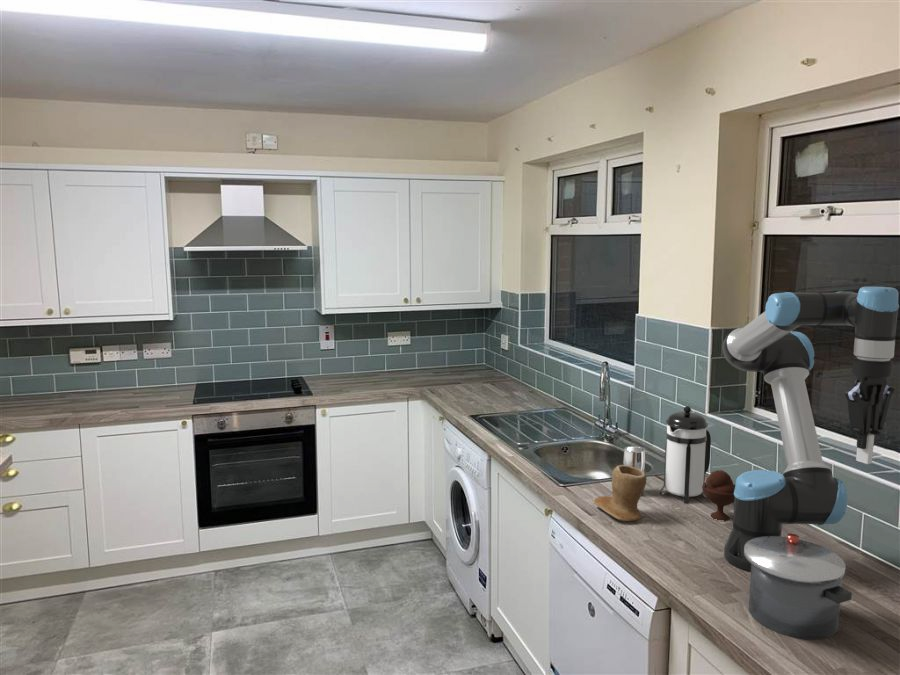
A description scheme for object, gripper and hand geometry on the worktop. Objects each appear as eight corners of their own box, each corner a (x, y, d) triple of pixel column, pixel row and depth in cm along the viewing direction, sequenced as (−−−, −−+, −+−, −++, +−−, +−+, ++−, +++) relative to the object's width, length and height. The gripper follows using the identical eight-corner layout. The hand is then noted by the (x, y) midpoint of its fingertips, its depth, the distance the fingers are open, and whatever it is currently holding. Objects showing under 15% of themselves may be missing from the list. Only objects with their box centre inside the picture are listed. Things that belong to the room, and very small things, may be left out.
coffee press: (713, 506, 216) (718, 413, 211) (660, 501, 220) (663, 410, 215) (708, 487, 232) (712, 400, 228) (659, 482, 236) (662, 398, 232)
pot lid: (788, 535, 164) (789, 524, 164) (866, 573, 146) (868, 560, 146) (724, 549, 157) (725, 537, 156) (798, 590, 138) (799, 577, 138)
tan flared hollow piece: (652, 520, 205) (654, 472, 203) (618, 526, 201) (620, 477, 199) (624, 502, 219) (625, 457, 217) (591, 507, 216) (592, 461, 213)
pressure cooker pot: (783, 581, 169) (787, 531, 167) (876, 633, 147) (882, 576, 145) (721, 598, 161) (724, 546, 159) (809, 655, 139) (814, 595, 137)
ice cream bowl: (743, 525, 201) (746, 476, 199) (704, 523, 203) (706, 475, 201) (734, 511, 212) (737, 464, 209) (697, 509, 213) (699, 463, 211)
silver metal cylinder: (630, 487, 232) (632, 444, 230) (648, 493, 227) (649, 449, 225) (618, 492, 228) (619, 448, 226) (635, 498, 223) (637, 453, 220)
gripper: (876, 353, 155) (868, 453, 159) (836, 357, 150) (828, 460, 154) (909, 358, 148) (900, 463, 152) (868, 363, 143) (859, 471, 147)
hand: (863, 461), depth 153 cm, fingers closed
